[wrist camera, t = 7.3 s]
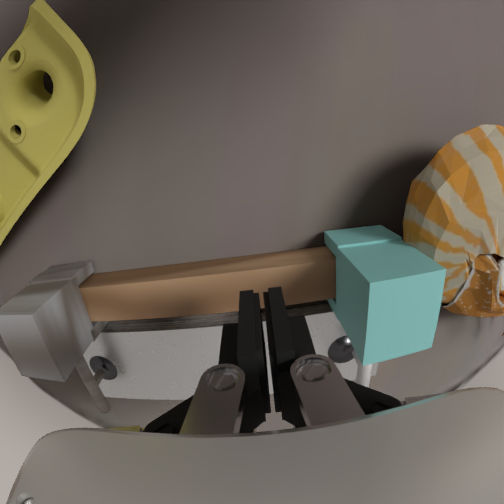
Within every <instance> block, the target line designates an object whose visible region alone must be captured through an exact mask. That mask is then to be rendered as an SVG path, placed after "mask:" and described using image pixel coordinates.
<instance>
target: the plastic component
mask: <svg viewBox="0 0 504 504" xmlns="http://www.w3.org/2000/svg"><path fill="white" fill-rule="evenodd" d="M45 72H47V73H48V74H49V75H50V77H51V79H52V82H53V94H50V93H48V92H47V91H46V89H45V87H44V85H43V78H44V74H45ZM95 97H96V74H95V68H94V64H93V61H92V58H91V56H90V54H89V52H88V51H87V49H86V47H85V46H84V45H83V43H82V42H81V40H80V39H79V38H78V37H77V35H76V34H75V33H74V32H73V31H72V30H71V29H70V27H69V26H68V25H67V24H66V23H65V22H64V21H63V20H62V19H61V18H60V17H59V16H58V15H57V14H56V13H55V12H54V11H53V10H52V8H51V7H50V6H49V5H48V4H47V3H46V2H45V1H44V0H36V1H35V2H34V3H33V4H32V5H31V6H30V7H29V15H28V18H27V21H26V24H25V26H24V29H23V31H22V33H21V35H20V36H19V37H18V39H17V40H16V41H15V42H14V44H13V45H12V46H11V48H10V49H9V50H8V51H7V53H6V54H5V55H4V57H3V58H2V60H1V61H0V245H1V244H2V242H3V240H4V239H5V237H6V236H7V234H8V233H9V231H10V230H11V228H12V227H13V225H14V224H15V222H16V221H17V220H18V218H19V217H20V215H21V214H22V213H23V211H24V210H25V209H26V207H27V206H28V205H29V203H30V202H31V201H32V199H33V198H34V197H35V196H36V194H37V193H38V192H39V190H40V189H41V188H42V187H43V186H44V184H45V183H46V182H47V181H48V179H49V178H50V177H51V176H52V174H53V173H54V172H55V171H56V169H57V168H58V167H59V166H60V165H61V163H62V162H63V161H64V160H65V158H66V157H67V156H68V154H69V153H70V152H71V150H72V149H73V147H74V146H75V145H76V143H77V142H78V140H79V138H80V137H81V135H82V133H83V131H84V129H85V127H86V125H87V123H88V120H89V118H90V115H91V113H92V109H93V106H94V102H95ZM15 125H18V126H19V127H20V128H21V131H22V133H20V132H19V131H18V130H17V128H16V127H15Z"/></svg>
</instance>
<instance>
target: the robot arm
mask: <svg viewBox="0 0 504 504" xmlns="http://www.w3.org/2000/svg"><path fill="white" fill-rule="evenodd" d="M263 297H264V308H265V318H266V328H267V339H268V349H269V359H270V367H271V376H272V385H273V393H274V402H275V411H276V412H282V420H286V421H287V422H289V423H291V424H293V428H292V429H284V430H275V431H265V432H256V428H257V427H258V426H259V425H260V424H261V423H262V422H265V421H266V417H265V413H271V407H270V395H269V382H268V370H267V358H266V347H265V339H264V331H263V323H262V314H261V306H260V298H259V293H254V292H253V290H245V291H240V293H239V315H238V323H228V324H223V328H222V337H221V345H220V354H219V362H218V365H215V366H212V367H211V368H209V369H207V370H206V371H205V372H204V373H203V374H202V376H201V378H200V380H199V383H198V386H197V388H196V391H195V393H194V395H192V396H191V397H189V398H188V399H186V400H185V401H183V402H182V403H180V404H179V405H177V406H176V407H174V408H173V409H171V410H169V411H168V412H166V413H165V414H163V415H161V416H160V417H158V418H157V419H155V420H153V421H152V422H151V423H149V424H148V425H147V426H146V427H145V428H141V427H140V425H138V426H129V427H118V428H104V429H100V428H71V429H64V430H58V431H55V432H51V433H49V434H46V435H45V436H43V437H42V438H41V439H39V440H38V442H37V443H36V444H35V445H34V447H33V448H32V450H31V451H30V453H29V454H28V456H27V458H26V460H25V461H24V463H23V465H22V467H21V469H20V471H19V473H18V475H17V478H16V480H15V482H14V484H13V487H12V489H11V492H10V495H9V497H8V500H7V503H6V504H504V391H503V390H500V389H497V388H490V387H479V388H467V389H461V390H456V391H452V392H448V393H441V394H434V395H427V396H418V397H409V398H405V400H404V401H399V400H397V399H396V398H394V397H392V396H389V395H386V394H384V393H381V392H378V391H376V390H373V389H370V388H368V387H365V386H363V385H360V384H358V383H355V382H353V381H350V380H348V379H345V378H343V376H342V375H341V373H340V371H339V370H338V368H337V366H336V365H335V363H334V362H333V361H332V360H331V359H330V358H328V357H327V356H323V355H320V354H316V352H315V349H314V345H313V342H312V338H311V335H310V332H309V328H308V325H307V322H306V318H305V316H304V315H300V316H292V317H288V315H287V311H286V306H285V301H284V297H283V292H282V288H281V286H280V287H272V288H268V292H263Z"/></svg>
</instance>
